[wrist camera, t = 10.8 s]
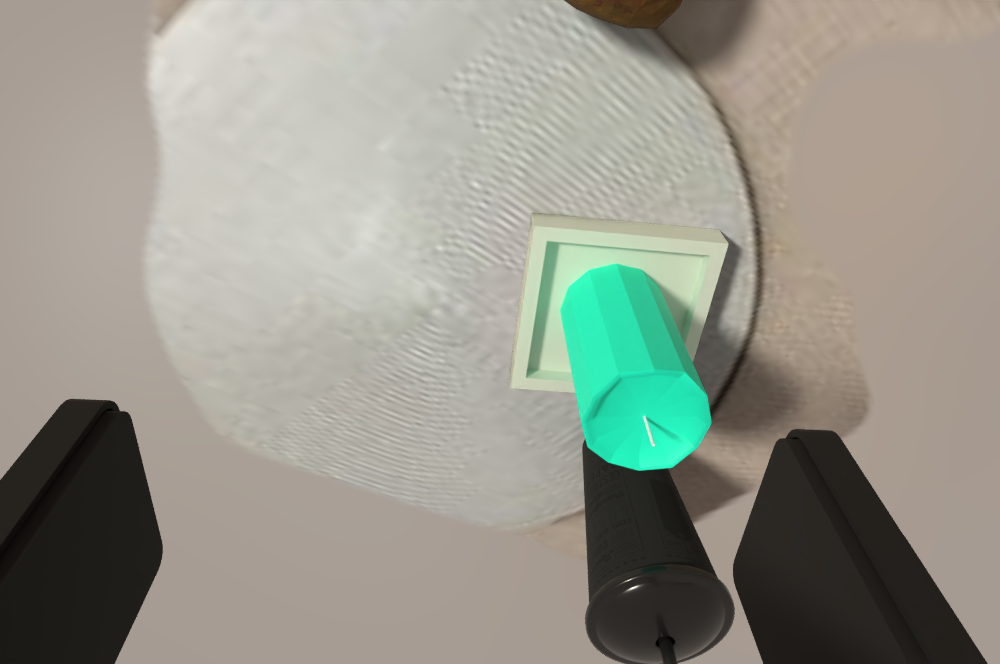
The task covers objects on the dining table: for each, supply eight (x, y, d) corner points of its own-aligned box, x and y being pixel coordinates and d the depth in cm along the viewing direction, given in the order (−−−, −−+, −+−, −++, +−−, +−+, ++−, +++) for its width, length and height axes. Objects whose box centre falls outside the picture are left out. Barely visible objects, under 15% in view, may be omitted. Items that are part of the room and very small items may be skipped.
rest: (719, 230, 41) (728, 243, 39) (674, 383, 46) (681, 400, 45) (531, 212, 40) (534, 225, 38) (509, 370, 45) (510, 387, 44)
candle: (678, 325, 43) (740, 463, 33) (587, 367, 44) (619, 512, 34) (637, 245, 40) (691, 368, 30) (541, 293, 42) (562, 426, 31)
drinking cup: (546, 419, 47) (584, 719, 30) (661, 387, 46) (766, 680, 29) (577, 499, 51) (626, 804, 34) (684, 472, 50) (788, 773, 33)
